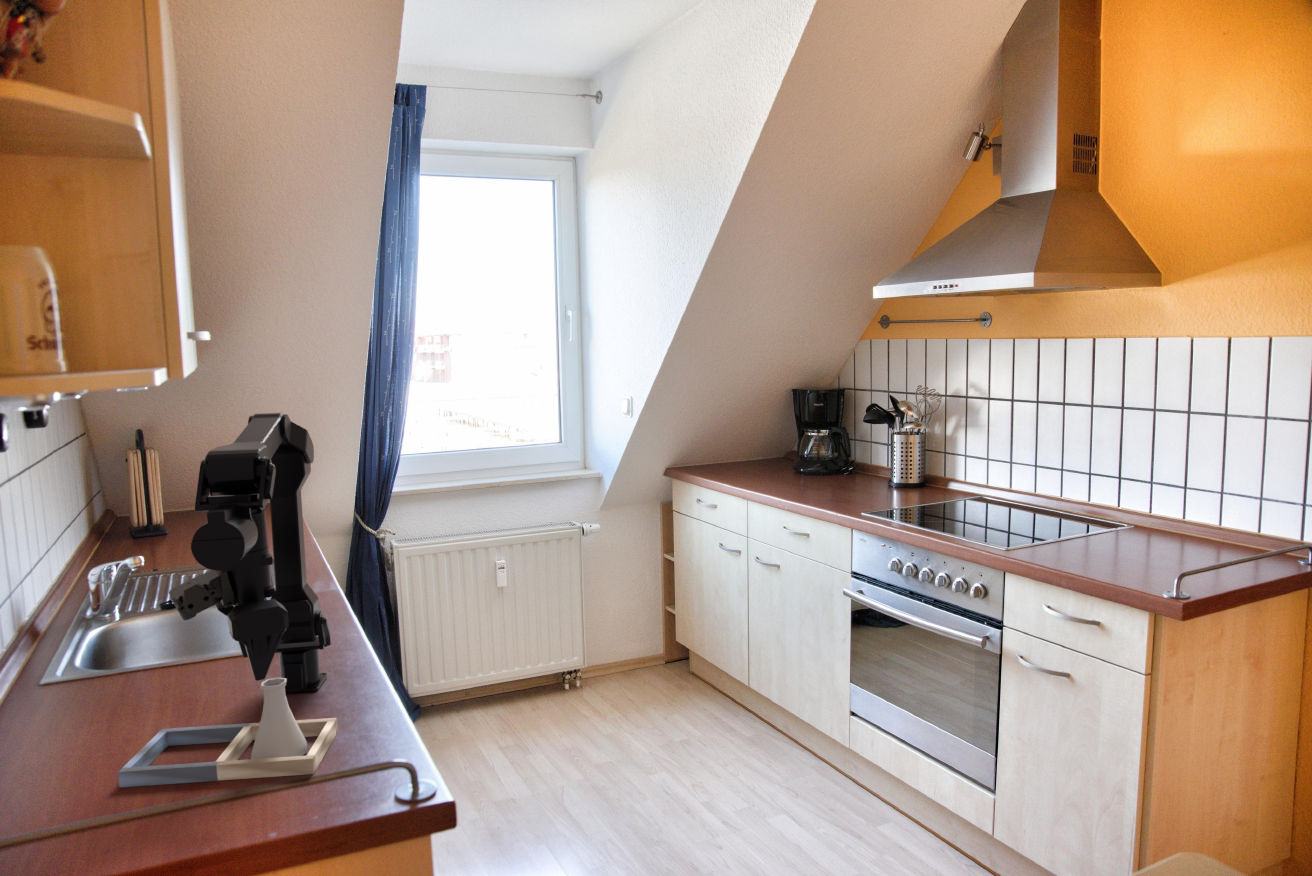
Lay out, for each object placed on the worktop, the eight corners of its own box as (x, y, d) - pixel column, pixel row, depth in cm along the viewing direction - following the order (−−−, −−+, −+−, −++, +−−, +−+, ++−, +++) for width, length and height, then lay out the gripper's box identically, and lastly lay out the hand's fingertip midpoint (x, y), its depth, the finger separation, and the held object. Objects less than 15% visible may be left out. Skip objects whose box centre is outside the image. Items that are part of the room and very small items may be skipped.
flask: (316, 741, 120) (311, 670, 119) (297, 767, 113) (291, 692, 112) (262, 743, 120) (256, 672, 119) (239, 769, 113) (233, 694, 112)
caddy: (163, 743, 121) (162, 728, 121) (337, 731, 123) (336, 717, 123) (119, 787, 109) (118, 772, 109) (313, 774, 111) (312, 758, 111)
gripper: (164, 543, 115) (175, 659, 117) (178, 577, 99) (191, 710, 101) (257, 530, 121) (266, 641, 123) (284, 560, 105) (294, 686, 107)
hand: (253, 667), depth 114 cm, fingers open, 9 cm apart
